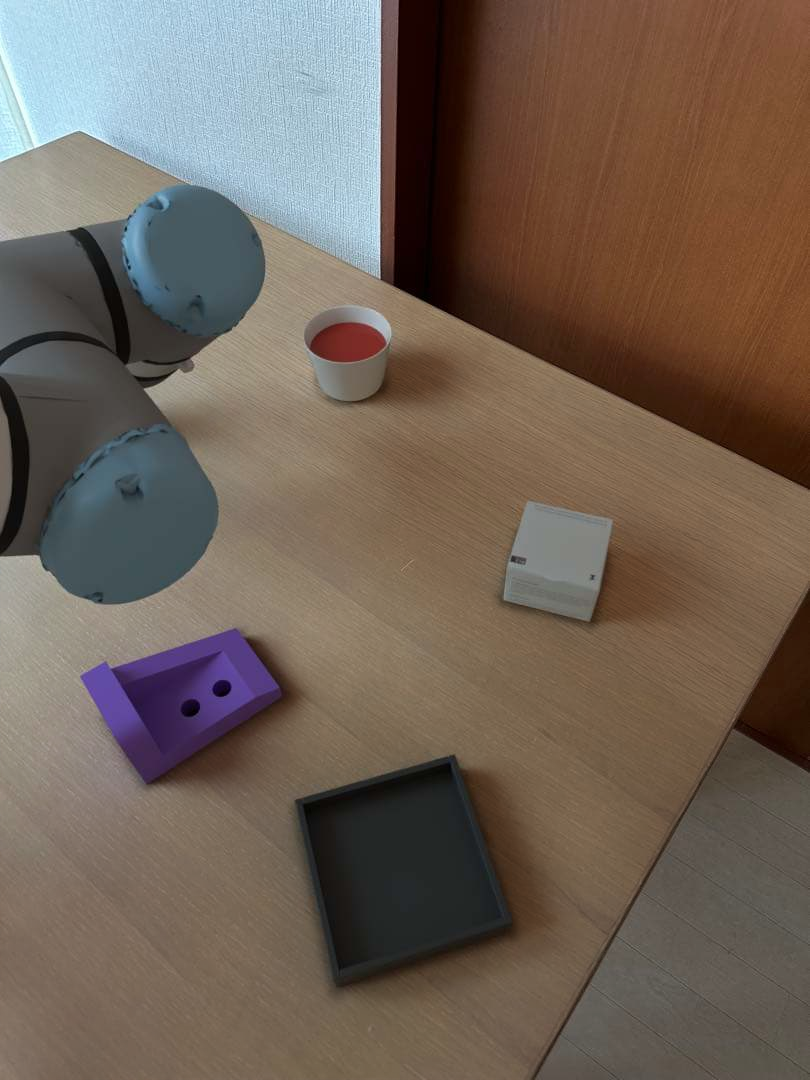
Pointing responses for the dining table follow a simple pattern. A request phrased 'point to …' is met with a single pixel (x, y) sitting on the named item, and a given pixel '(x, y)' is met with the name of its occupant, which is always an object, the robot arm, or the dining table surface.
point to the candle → (348, 350)
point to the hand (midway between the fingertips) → (87, 385)
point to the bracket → (180, 699)
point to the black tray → (399, 869)
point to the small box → (558, 560)
